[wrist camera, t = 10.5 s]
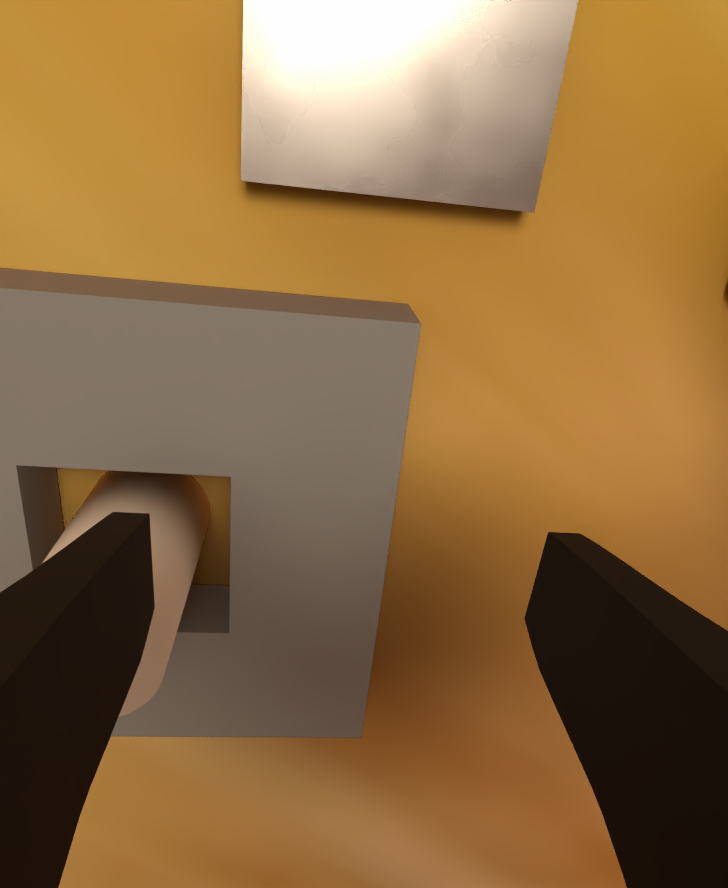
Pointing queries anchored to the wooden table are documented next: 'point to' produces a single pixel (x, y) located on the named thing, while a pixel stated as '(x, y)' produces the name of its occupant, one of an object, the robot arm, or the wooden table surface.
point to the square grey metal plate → (403, 96)
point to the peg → (153, 554)
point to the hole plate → (223, 474)
